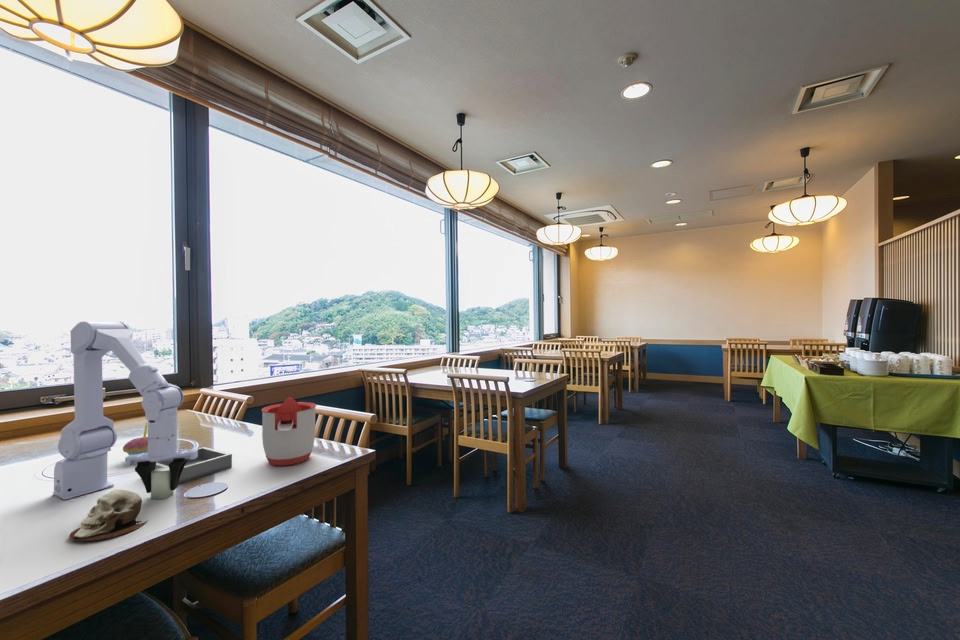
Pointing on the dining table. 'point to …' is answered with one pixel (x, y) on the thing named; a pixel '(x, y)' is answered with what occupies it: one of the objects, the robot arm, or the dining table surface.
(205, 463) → the bin
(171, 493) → the white pillar candle
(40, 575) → the dining table surface
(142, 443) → the cupcake
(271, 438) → the citrus juicer
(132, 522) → the skull
